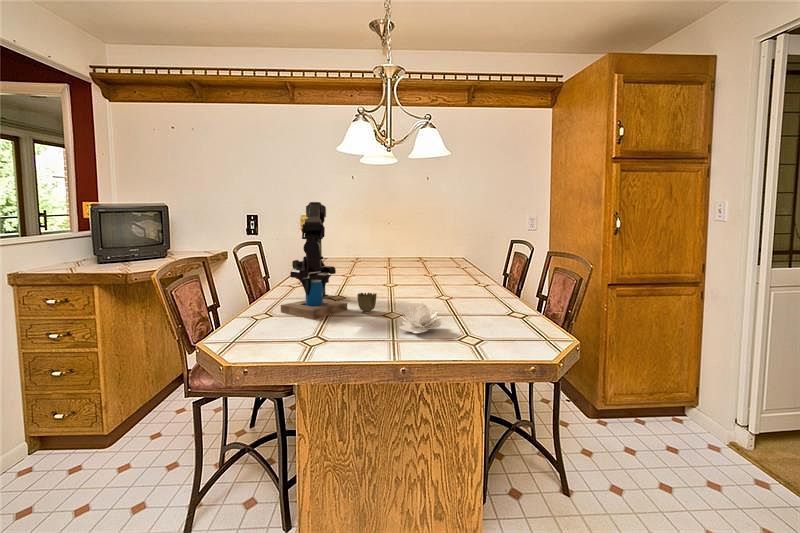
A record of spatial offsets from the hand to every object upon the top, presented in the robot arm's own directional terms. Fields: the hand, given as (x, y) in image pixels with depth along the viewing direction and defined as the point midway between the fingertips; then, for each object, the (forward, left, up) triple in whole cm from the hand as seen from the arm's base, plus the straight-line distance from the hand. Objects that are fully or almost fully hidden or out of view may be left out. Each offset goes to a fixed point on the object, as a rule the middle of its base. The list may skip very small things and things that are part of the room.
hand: (314, 294), depth 171 cm
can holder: (0, 0, -7) cm, 7 cm away
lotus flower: (-3, +48, -8) cm, 48 cm away
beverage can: (0, 0, -7) cm, 7 cm away
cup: (-10, +18, -8) cm, 22 cm away
